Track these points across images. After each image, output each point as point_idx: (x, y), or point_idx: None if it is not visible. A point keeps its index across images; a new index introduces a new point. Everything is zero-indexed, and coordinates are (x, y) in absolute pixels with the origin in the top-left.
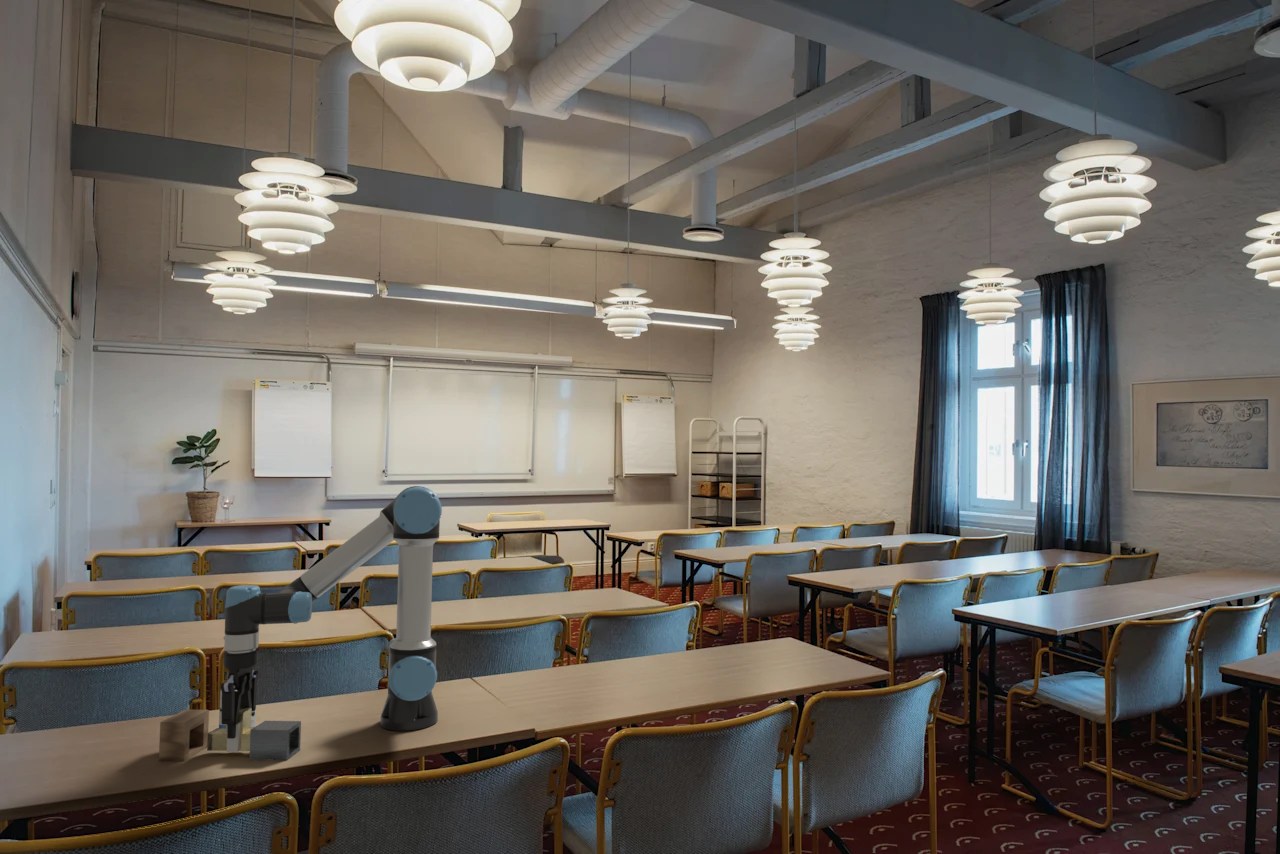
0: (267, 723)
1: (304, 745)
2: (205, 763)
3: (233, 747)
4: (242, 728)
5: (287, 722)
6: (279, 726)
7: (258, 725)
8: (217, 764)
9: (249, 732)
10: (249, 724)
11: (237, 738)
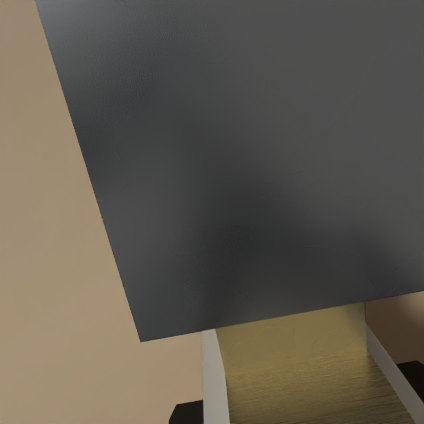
0: (225, 254)
1: (4, 4)
2: (405, 361)
3: None
4: (389, 387)
5: (114, 16)
6: (311, 10)
7: (308, 301)
8: (416, 304)
9: (323, 323)
10: (263, 406)
11: (381, 346)
